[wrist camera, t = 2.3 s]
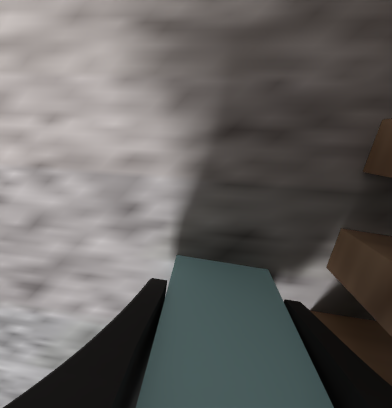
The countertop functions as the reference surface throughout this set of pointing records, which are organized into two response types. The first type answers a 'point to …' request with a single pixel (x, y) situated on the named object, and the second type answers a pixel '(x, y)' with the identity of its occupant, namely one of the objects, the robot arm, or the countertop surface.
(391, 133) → the domino
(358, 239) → the domino
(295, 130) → the countertop surface
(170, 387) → the loose domino
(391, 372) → the domino
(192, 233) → the countertop surface
